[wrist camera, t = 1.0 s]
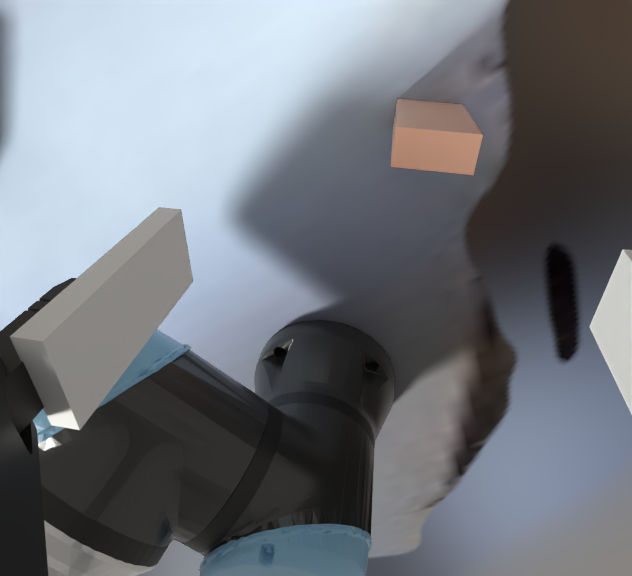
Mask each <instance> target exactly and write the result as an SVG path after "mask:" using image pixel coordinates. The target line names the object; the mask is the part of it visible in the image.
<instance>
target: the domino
mask: <svg viewBox="0 0 632 576" xmlns="http://www.w3.org/2000/svg"><path fill="white" fill-rule="evenodd" d="M482 138H483V134H482V132H481V131H480V129H479V128H478V126H477V125H476V123H475V122H474V120H473V119H472V117H471V116H470V114H469V113H468V111H467V109H466V108H465V106H464V105H463V104H453V103H442V102H430V101H419V100H408V99H397V103H396V110H395V117H394V124H393V132H392V150H391V167H398V168H408V169H417V170H427V171H437V172H446V173H456V174H466V175H474V171H475V167H476V162H477V158H478V154H479V150H480V146H481V142H482Z"/></svg>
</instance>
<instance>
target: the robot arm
mask: <svg viewBox="0 0 632 576" xmlns="http://www.w3.org/2000/svg"><path fill="white" fill-rule="evenodd" d="M192 282H193V277H192V271H191V265H190V259H189V253H188V247H187V242H186V236H185V230H184V224H183V218H182V212H181V209H171V208H160V207H159V208H158V209H157V210H155V211H154V212H153V213H152V214H151V215H150V216H149V217H147V218H146V219H145V220H144V221H143V222H142V223H140V224H139V225H138V226H137V227H136V228H135V229H133V230H132V231H131V232H130V233H129V234H128V235H127V236H125V237H124V238H123V239H122V240H121V241H120V242H118V243H117V244H116V245H115V246H114V247H113V248H111V249H110V250H109V251H108V252H107V253H106V254H105V255H103V256H102V257H101V258H100V259H99V260H98V261H96V262H95V263H94V264H93V265H92V266H91V267H90V268H88V269H87V270H86V271H85V272H84V273H83V274H81V275H80V276H79V277H78V278H77V279H76V278H71V279H69V280H67V281H65V282H63V283H61V284H59V285H57V286H55V287H53V288H52V289H51V290H49V291H48V292H47V293H46V294H45V295H43V296H42V297H41V298H40V300H39V301H36V302H35V303H34V304H33V305H31V306H30V307H29V308H28V311H24V312H23V313H22V314H21V315H19V316H18V317H17V318H16V319H15V320H13V321H12V322H11V323H10V324H9V325H7V326H6V327H5V328H4V329H3V330H1V331H0V576H136V575H139V574H142V573H145V572H148V571H151V570H153V568H154V567H155V566H156V565H157V563H158V562H159V560H160V559H161V557H162V555H163V554H164V552H165V550H166V549H167V547H168V546H169V544H170V543H171V542H172V541H173V540H176V541H178V542H181V543H182V544H184V545H186V546H188V547H190V548H191V549H193V550H195V551H197V552H199V553H200V554H202V555H203V556H205V557H204V560H203V561H202V563H201V565H200V569H199V570H200V576H366V568H367V560H368V552H369V550H370V548H371V545H372V542H371V539H372V538H371V517H372V493H373V469H374V445H375V440H376V438H377V436H378V434H379V432H380V430H381V428H382V426H383V424H384V422H385V420H386V418H387V416H388V414H389V412H390V410H391V407H392V404H393V400H394V392H395V375H394V370H393V366H392V363H391V361H390V359H389V357H388V356H387V354H386V353H385V351H384V350H383V349H382V348H381V346H380V345H379V344H378V343H377V342H375V341H374V340H373V339H372V338H370V337H369V336H368V335H366V334H364V333H363V332H361V331H359V330H357V329H355V328H353V327H350V326H347V325H344V324H340V323H336V322H330V321H307V322H302V323H298V324H294V325H291V326H289V327H287V328H285V329H283V330H281V331H279V332H278V333H277V334H275V335H274V336H273V337H272V338H271V339H270V340H269V341H268V342H267V344H266V345H265V347H264V349H263V351H262V353H261V356H260V358H259V361H258V363H257V366H256V371H255V393H254V392H252V391H251V390H249V389H248V388H246V387H245V386H243V385H242V384H240V383H239V382H237V381H236V380H234V379H233V378H231V377H230V376H228V375H227V374H225V373H224V372H222V371H220V370H219V369H217V368H216V367H214V366H213V365H211V364H210V363H208V362H207V361H205V360H204V359H202V358H201V357H199V356H198V355H196V354H195V353H193V352H192V351H190V350H189V349H191V347H190V346H189V345H187V344H184V345H182V344H181V343H179V342H177V341H176V340H174V339H172V338H171V337H169V336H167V335H166V334H164V333H162V332H160V331H159V330H157V328H158V327H159V326H160V324H161V323H162V322H163V320H164V319H165V318H166V316H167V315H168V314H169V312H170V311H171V310H172V308H173V307H174V306H175V305H176V303H177V302H178V301H179V299H180V298H181V297H182V295H183V294H184V293H185V291H186V290H187V289H188V287H189V286H190V285H191V283H192ZM590 329H591V331H592V333H593V335H594V338H595V340H596V342H597V344H598V346H599V348H600V350H601V352H602V354H603V356H604V358H605V360H606V362H607V364H608V366H609V369H610V371H611V373H612V375H613V377H614V379H615V381H616V383H617V385H618V387H619V389H620V391H621V394H622V395H623V398H624V400H625V402H626V404H627V406H628V408H629V410H630V412H631V414H632V250H624V249H623V250H622V252H621V254H620V257H619V259H618V261H617V264H616V266H615V269H614V271H613V273H612V275H611V278H610V280H609V282H608V285H607V287H606V289H605V292H604V294H603V296H602V299H601V301H600V303H599V306H598V308H597V310H596V313H595V315H594V317H593V320H592V322H591V324H590Z"/></svg>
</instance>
